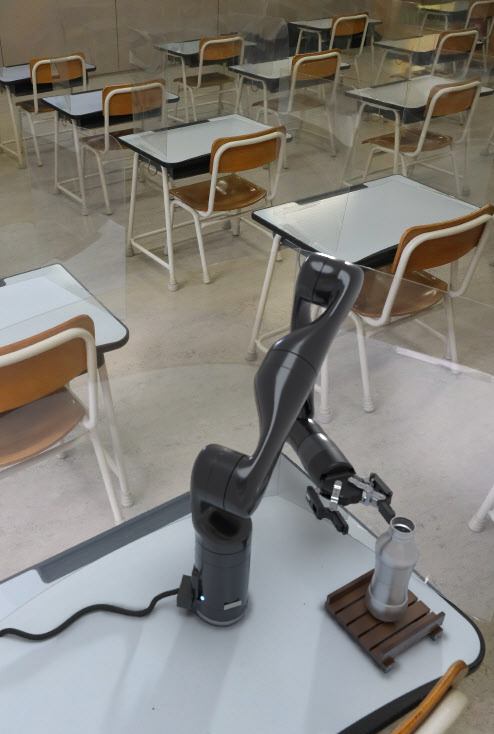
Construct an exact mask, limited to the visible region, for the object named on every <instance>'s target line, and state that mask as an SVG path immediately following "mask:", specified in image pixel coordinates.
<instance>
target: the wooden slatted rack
mask: <svg viewBox="0 0 494 734" xmlns="http://www.w3.org/2000/svg"><path fill="white" fill-rule="evenodd" d="M374 569H375V567H374V568H371V569H370V570H369V571H366V572H365V573H363V574H362V575H360V576H358V577H356V578H354V579H353V580H351V581H349V582H348V583H345V584H344V585H343V586H341V587H338V588H337V589H335V590H333V591H332V592H330V593H328V594H327V595H326V599H325V601H324V606H323V608H324V609H325V610H326V611H327V613H328V614H330V616H331V617H332V618H333V619H334V620H335V621H336V622H337V623H338V624H339V625H340V627H342V629H343V630H344V631H345V632H347V635H349V636H350V637H351V638H352V639H353V640H354V642H355V643H356V644H357V645H358V646H359V647H360V648H361V649H362V650H363V651H364V652H365V653H366V654H367V656H368V657H369V658H370V659H371V660H372V661H373V662H374V663H375V664H376V665H377V666H378V667H379V669H381V670H382V671H383V673H385V674H386V673H387V672H389V671H391V670H392V669H393V668H395V665H396V660H395V659H394V657H395V656H397V655H398V654H400V653H402V652H403V651H405V650H406V649H408V648H410V647H411V646H412V645H414V644H416V643H417V642H419V641H420V640H421V639H423V638H424V637H426V636H428V637H429V638H430V639H431V640H432V641H435V640H438V638H440V637H442V635H443V632H444V628H442V626H443V624H444V621H445V618H446V613H445V611H443V610H442V611H440V612H438V613H437V614H436V613H435V612H434V611H433V610H432V611H431V608H430V607H429V606H428V605H427V604H426V603H425V602H423V600H421V599H419V597H418V596H417V595H416V594H415V593H414V592H413V591H412V590H410V589H409V588H408V594H407V595H408V608H407V611H406V612H405V614H404V616H403V617H402V618H401V619H399V620H397V621H394V622H384V621H381V620H379V619H377V618H375V617H374V616H373V615H372V614H371V613H370V612H369V610H368V609H367V606H366V599H365V595H366V591H367V589H368V586H369V585H370V583H371V581H372V577H373V574H374Z"/></svg>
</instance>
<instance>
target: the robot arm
mask: <svg viewBox="0 0 494 734" xmlns="http://www.w3.org/2000/svg"><path fill="white" fill-rule="evenodd" d="M364 281H365V274H364V271H363V269H362V267H360V266H358V265H356V264H354V263H352V262H349V261H346V260H344V259H340V258H337V257H334V256H331V255H328V254H324V253H321V252H317V251H314V252H311V253H309V254H308V255H307V256H306V258H304V260H303V262H302V264H301V266H300V268H299V271H298V273H297V277H296V281H295V286H294V290H293V291H294V292H293V300H292V305H291V315H290V322H289V323H290V325H289V333H287V334H286V335H284V336H282V337H281V338H279V339H277V341H275V342H274V343H273V344H272V345H271V346H270V347H269V348H268V350H267V352H266V353H265V355H264V357H263V359H262V360H261V363H260V365H259V367H258V369H257V370H256V372H255V375H254V377H253V397H254V402H255V408H256V413H257V418H258V430H259V431H258V432H259V434H258V435H259V437H258V441H257V445H256V448H255V449H254V452H253V453H252V455H249V454H246V453H243V452H241V451H238V450H235V449H233V448H230V447H227V446H224V445H222V444H219V443H209V444H206V445H205V446H204V447H202V449H200V451H199V453H198V454H197V456H196V457H195V460H194V462H193V464H192V469H191V473H190V482H189V493H190V494H189V495H190V497H189V498H190V508H191V509H190V511H191V524H192V527H193V530H194V562H193V567H192V569H191V574H190V575H187V574H182V577H181V581H180V585H179V587H177V588H173V589H169V590H166V591H163V592H161V593H159V594H157V595H156V596H154V597H152V599H151V601H150V602H149V605H148V607H147V608H144V609H140V610H133V609H127V608H123V607H120V606H117V605H114V604H109V603H108V604H107V603H95V604H91V605H88V606H85V607H83V608H81V609H80V610H78V611H76V612H75V613H73V614H72V615H70V617H68V618H67V619H66V620H65V621H63V622H62V623H61V624H59V625H58V626H56V627H55V628H53V629H51V630H49V631H46V632H43V633H30V632H27V631H24V630H21V629H18V628H16V627H15V628H14V627H5V628H2V629H1V630H0V638H1V637H3V636H6V635H14V636H17V637H19V638H22V639H25V640H28V641H38V642H39V641H43V640H48V639H49V638H53V637H55V636H56V635H58V634H60V633H61V632H63V631H64V630H66V629H67V628H68V627H69V626H70V625H72V624H73V623H74V622H76V620H78V619H79V618H81V617H82V616H84V615H86V614H88V613H91V612H94V611H110V612H113V613H117V614H120V615H124V616H129V617H143V616H146V615H149V614H151V613H152V612H153V611H154V609H155V607H156V605H157V603H158V602H160V601H161V600H163V599H166V598H168V597H173V596H176V607H177V608H180V609H185V610H190V612H191V613H195V614H197V615H198V616H199V617H200V619H202V620H203V621H205V622H206V623H208V624H210V625H213V626H219V627H226V626H231V625H235V624H237V623H238V622H239V621H241V620H242V619H243V618H244V617H245V615H246V613H247V610H248V606H249V586H250V585H249V584H250V571H251V557H252V556H251V555H252V542H253V530H254V529H253V528H254V526H253V525H254V524H253V520H252V516H253V515H254V514H255V513H256V511H257V510H258V509H259V506H260V504H261V503H262V501H263V499H264V496H265V494H266V492H267V489H268V487H269V484H270V481H271V479H272V477H273V474H274V472H275V469H276V467H277V464H278V461H279V459H280V456H281V454H282V452H283V449H284V446H285V444H288V446H290V447H291V449H292V450H293V451H294V453H295V455H296V456H297V457H298V459H299V461H300V463H301V465H302V467H303V469H304V471H305V472H306V473H307V474H308V477H309V478H310V479H311V481H312V482H313V484H314V485H315V488H314V486H312V485H307V486H306V491H305V500H306V502H307V504H308V506H309V508H310V509H311V511H312V513H313V514H314V516H315V518H316V520H318V521H322V520H324V519H327V520H328V521H330V522H331V524H332V525H333V527H334V528H335V530H336V531H337V532H338V533H339V534H340V533H341V534H342V536H347V535H349V530H350V526H349V523H348V522H347V521H346V519H345V518H344V516H343V515H342V513H341V512H340V510H339V509H338V507H339V506H342V507H347V506H349V505H356V504H362V505H364V506H366V507H368V506H371V507H374V508H375V509H377V510H378V512H379V514H380V515H381V516H382V518H383V519H384V521H385V522H386V523H387V524H388V526H389V525H390V522H391V520H392V519H393V518H394V517H396V515H397V514H396V511H395V510H394V509H393V507H392V506H391V504H392V498H393V495H394V492H393V491H392V490H391V488H390V487H389V485H387V483H385V482H384V480H383V479H382V478H381V477H380V476H379V475H378V474H377V472H375V471H374V472H370V473H369V476H367V477H362V476H360V475H358V474H357V472H356V469H355V468H354V466H353V464H352V463H351V462H350V461H349V460H348V458H347V457H346V455H345V454H344V452H342V450H341V449H340V448H339V446H338V445H337V444H336V442H334V440H332V438H330V436H329V435H328V433H326V432H325V430H324V428H323V427H322V426H321V425H320V424H319V422H317V421H316V420H314V418H315V413H316V411H315V410H316V409H315V385H316V382H317V379H318V376H319V374H320V372H321V369H322V367H323V365H324V362H325V360H326V358H327V355H328V353H329V351H330V349H331V346H332V344H333V342H334V340H335V339H336V336H337V335H338V333H339V331H340V329H341V328H342V325H343V324H344V322H345V321H346V319H347V317H348V315H349V314H350V312H351V310H352V308H353V307H354V305H355V303H356V302H357V299H358V297H359V295H360V293H361V291H362V288H363V285H364ZM311 305H315V306H317V307H320V308H322V309H325V310H324V311H323V312H322V313H321V314H320V315H319V316H318V317H317V318H315V319H314V320H312V319H313V318H312V313H311V311H312V310H311V309H312V308H311V307H312V306H311ZM364 493H365V494H366V495H365V496H364ZM320 496H321V497H322V498H323V499H325V500H328V501H330V502H329V505H328V506H325V505H324V504H323V502H322V500H321V498H320Z"/></svg>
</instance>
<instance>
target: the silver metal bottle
mask: <svg viewBox="0 0 494 734" xmlns="http://www.w3.org/2000/svg"><path fill="white" fill-rule="evenodd" d="M416 530H417V525H416V524H415V522H414V521H413V520H412V519H411V518H408V517H406V516H402V515H398V516H395V517H394V518H393V519H392V520H391V522H390V525H389V524H388V527H387V530H386V531H383V532H382V533H381V534H379V536H378V537H377V538H376V541H375V543H374V544H375V545H374V568H375V569H374V568H373V569H374V574H373V577H372V581H371V583H370V585H369V586H368V589H367V591H366V595H365V599H366V606H367V609H368V610H369V612H370V613H371V614H372V615H373V616H374V617H375V618H377V619H379V620H381V621H384V622H394V621H397V620H399V619H401V618H402V617H403V616H404V614H405V612H406V611H407V608H408V595H407V594H408V589H409V583H410V580H411V577H412V575H413V574H412V573H413V571H414V569H415V567H416V565H417V563H418V561H419V558H420V549H419V544H418V543H417V541H416V539H415V536H416Z"/></svg>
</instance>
